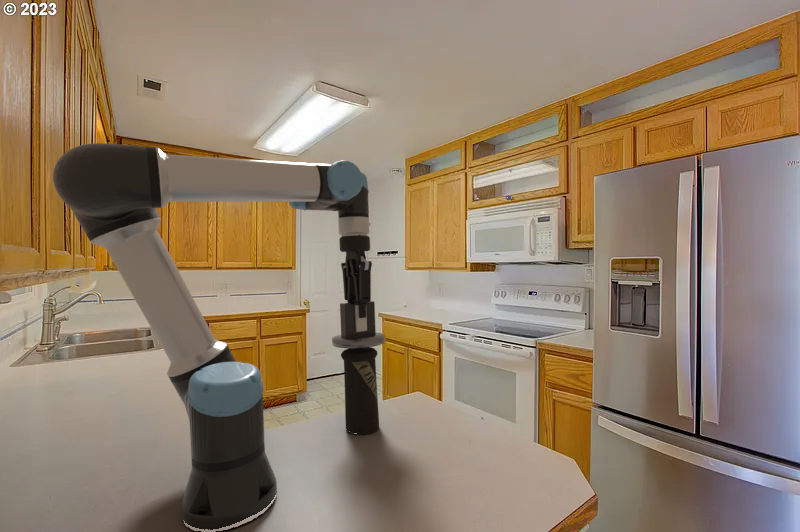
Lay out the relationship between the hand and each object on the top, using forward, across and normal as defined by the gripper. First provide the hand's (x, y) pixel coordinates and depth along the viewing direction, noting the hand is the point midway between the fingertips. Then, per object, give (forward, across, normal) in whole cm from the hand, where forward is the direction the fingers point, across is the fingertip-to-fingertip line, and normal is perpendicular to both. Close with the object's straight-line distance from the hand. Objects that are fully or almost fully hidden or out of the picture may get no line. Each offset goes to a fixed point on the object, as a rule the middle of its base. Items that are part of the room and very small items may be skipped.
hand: (358, 329), depth 97 cm
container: (+25, 0, 0) cm, 25 cm away
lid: (+3, 0, 0) cm, 3 cm away
